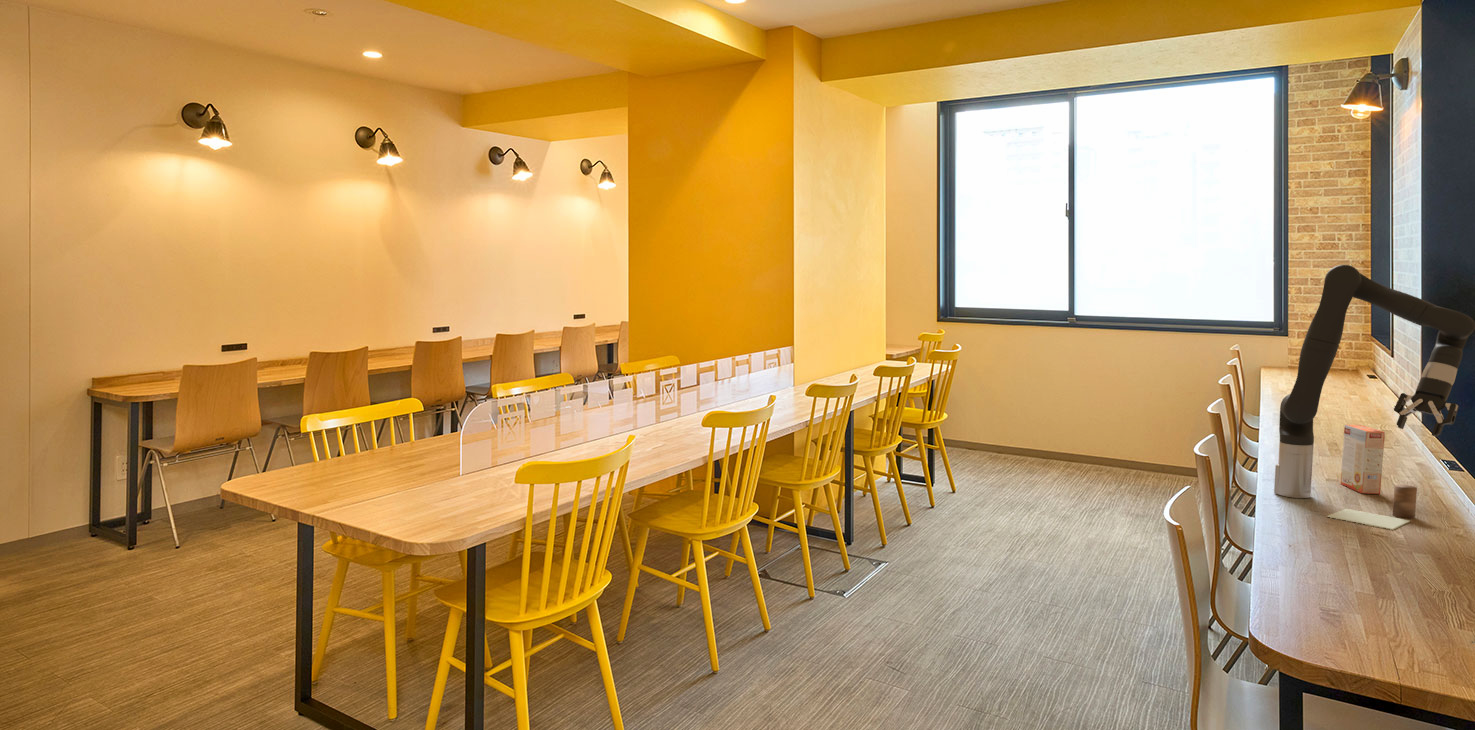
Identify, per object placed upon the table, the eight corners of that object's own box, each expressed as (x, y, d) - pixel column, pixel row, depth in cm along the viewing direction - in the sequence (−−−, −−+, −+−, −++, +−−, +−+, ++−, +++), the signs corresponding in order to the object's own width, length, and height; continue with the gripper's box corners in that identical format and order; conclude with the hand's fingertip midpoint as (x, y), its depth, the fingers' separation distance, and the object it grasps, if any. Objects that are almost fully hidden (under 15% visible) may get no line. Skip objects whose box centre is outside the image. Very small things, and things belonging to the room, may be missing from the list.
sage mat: (1327, 517, 250) (1327, 516, 250) (1345, 509, 258) (1345, 508, 258) (1392, 530, 237) (1392, 528, 237) (1410, 521, 245) (1410, 520, 245)
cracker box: (1381, 495, 275) (1386, 431, 273) (1360, 494, 276) (1365, 430, 274) (1359, 484, 289) (1363, 424, 287) (1339, 484, 290) (1343, 423, 288)
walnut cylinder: (1389, 516, 251) (1391, 486, 250) (1396, 513, 254) (1398, 483, 253) (1411, 520, 246) (1413, 489, 246) (1417, 517, 249) (1419, 487, 249)
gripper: (1403, 371, 253) (1384, 422, 253) (1461, 382, 241) (1440, 435, 241) (1413, 378, 257) (1394, 428, 257) (1471, 389, 245) (1450, 441, 245)
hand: (1416, 432), depth 249 cm, fingers open, 8 cm apart
